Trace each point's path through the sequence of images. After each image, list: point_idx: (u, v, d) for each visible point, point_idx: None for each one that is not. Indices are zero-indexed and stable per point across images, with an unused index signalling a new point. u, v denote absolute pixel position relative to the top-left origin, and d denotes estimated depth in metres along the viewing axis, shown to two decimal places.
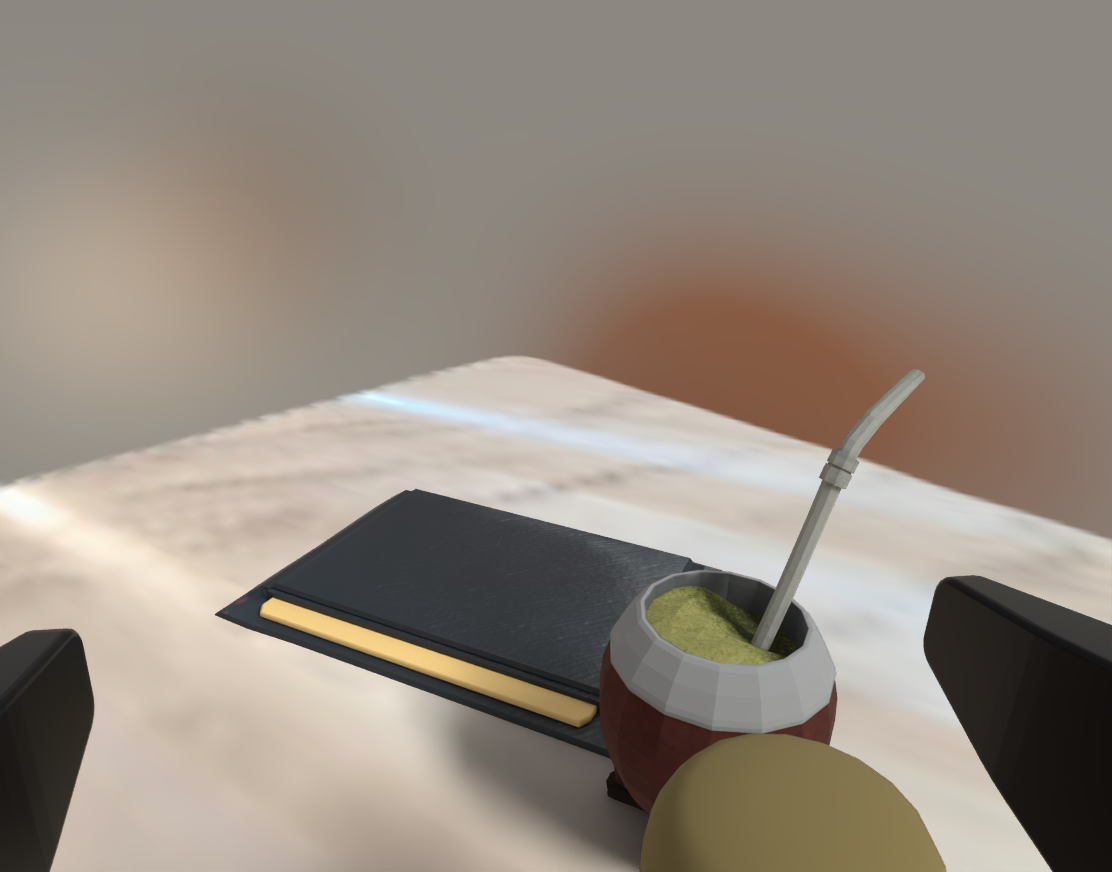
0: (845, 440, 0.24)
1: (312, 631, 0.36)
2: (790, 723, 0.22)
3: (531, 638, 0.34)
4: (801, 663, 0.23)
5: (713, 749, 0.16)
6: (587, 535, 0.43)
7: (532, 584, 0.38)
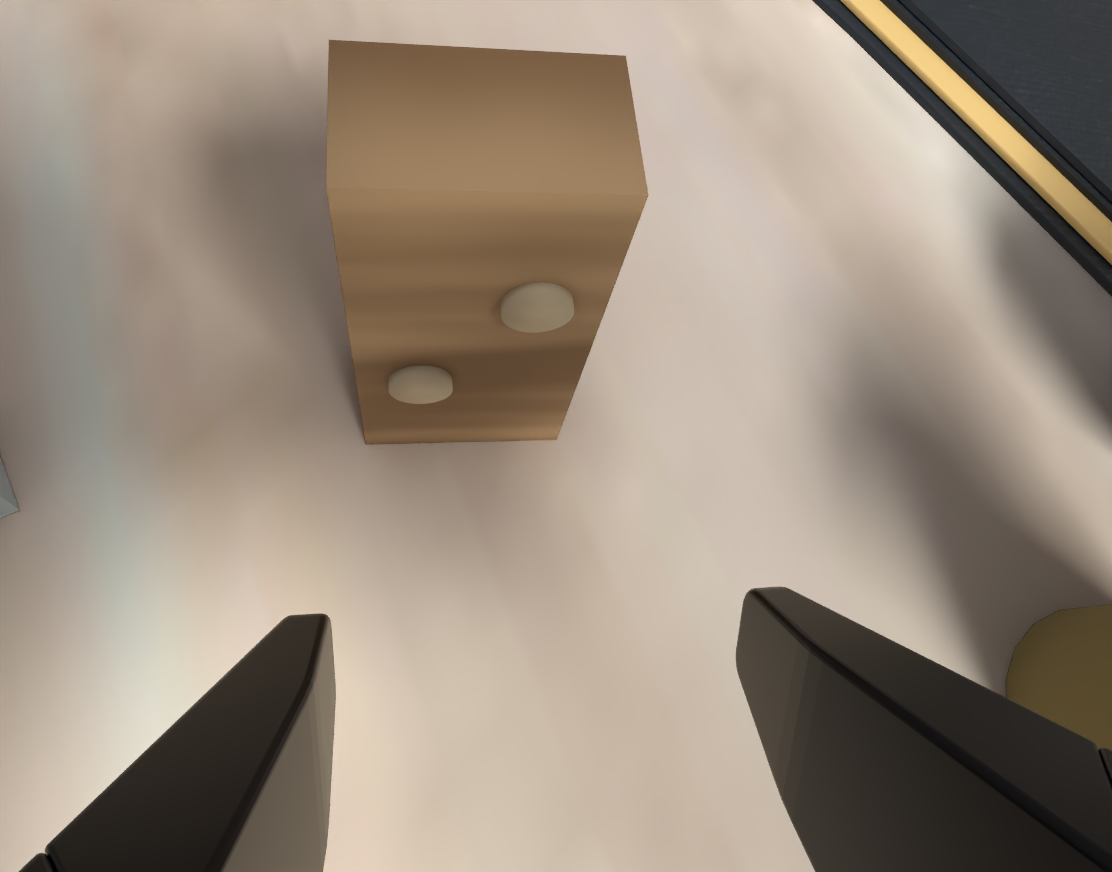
0: None
1: (879, 32, 0.30)
2: None
3: None
4: None
5: None
6: None
7: None
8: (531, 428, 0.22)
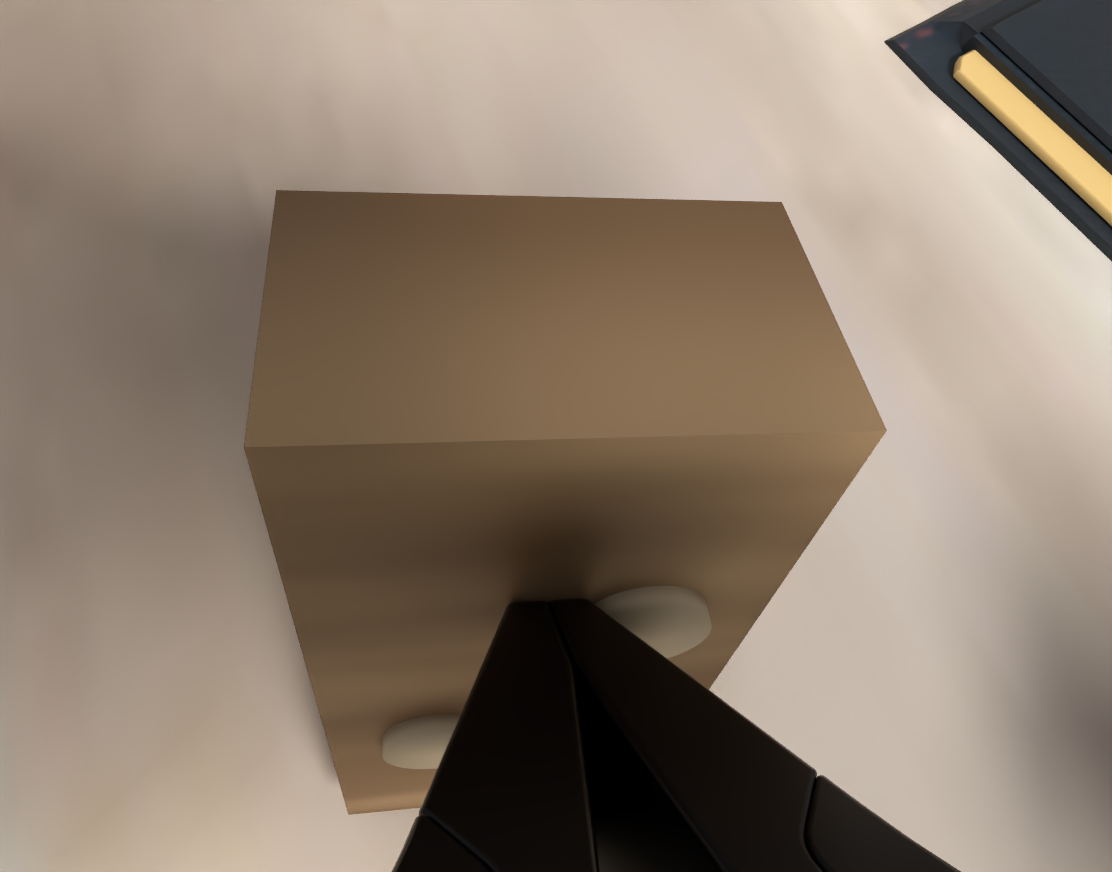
0: None
1: (1029, 140, 0.23)
2: None
3: None
4: None
5: None
6: None
7: None
8: None
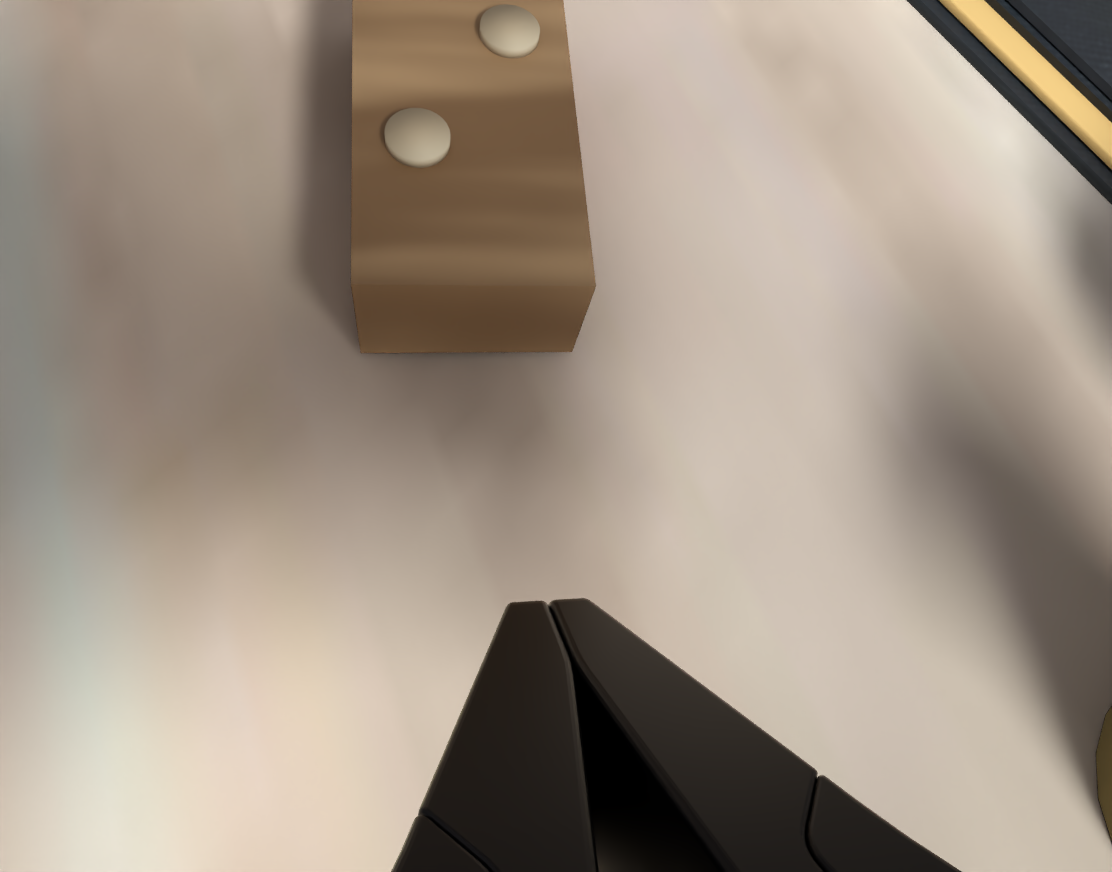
0: None
1: None
2: None
3: None
4: None
5: None
6: None
7: None
8: (555, 252, 0.18)
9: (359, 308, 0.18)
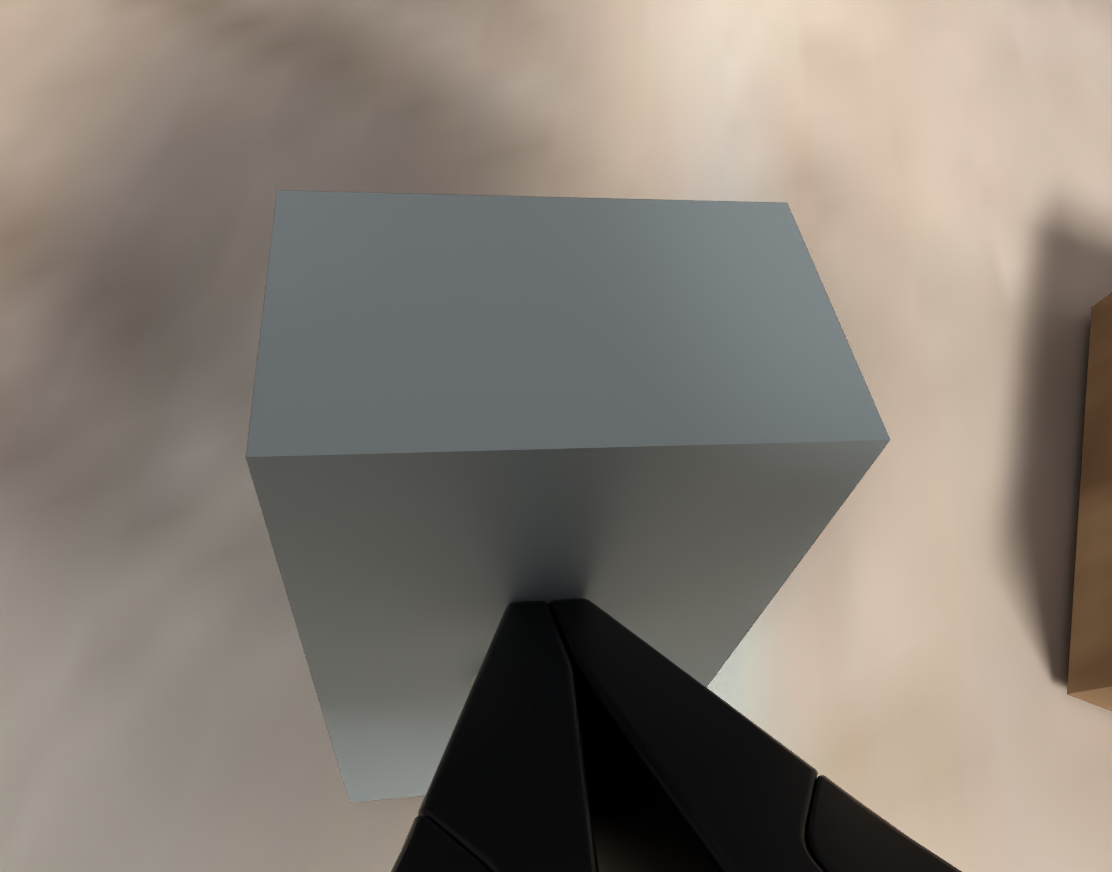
0: None
1: None
2: None
3: None
4: None
5: None
6: None
7: None
8: None
9: None
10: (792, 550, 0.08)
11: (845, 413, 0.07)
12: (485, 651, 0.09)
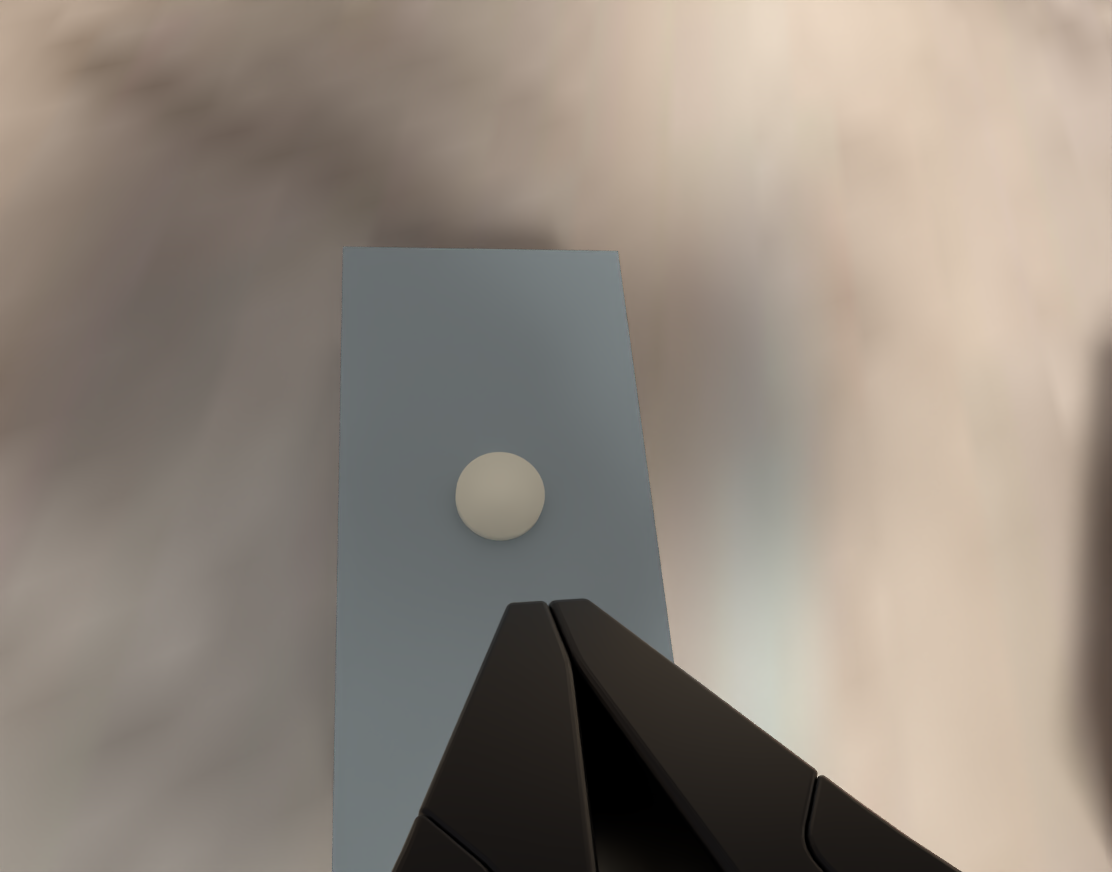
0: None
1: None
2: None
3: None
4: None
5: None
6: None
7: None
8: None
9: None
10: (620, 336, 0.15)
11: None
12: (460, 446, 0.14)
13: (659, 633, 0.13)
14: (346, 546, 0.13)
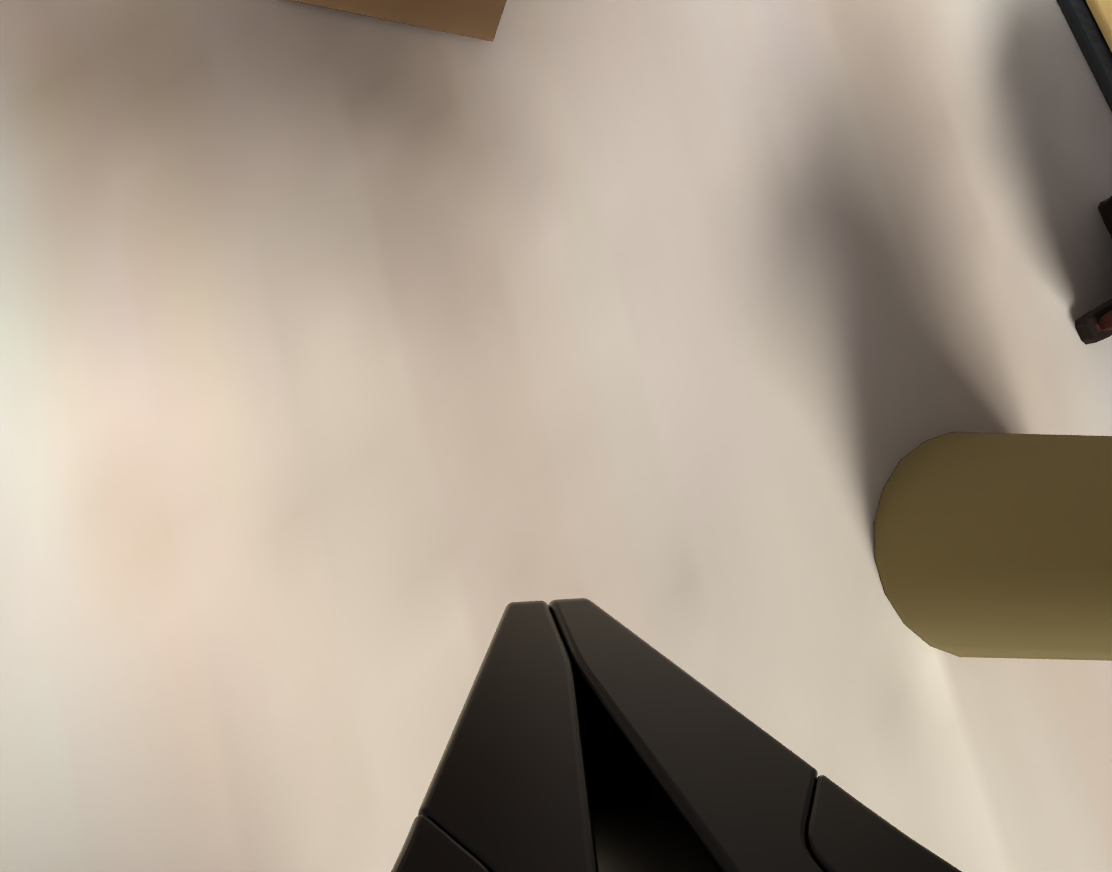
0: None
1: None
2: None
3: None
4: None
5: None
6: None
7: None
8: None
9: None
10: None
11: None
12: None
13: None
14: None
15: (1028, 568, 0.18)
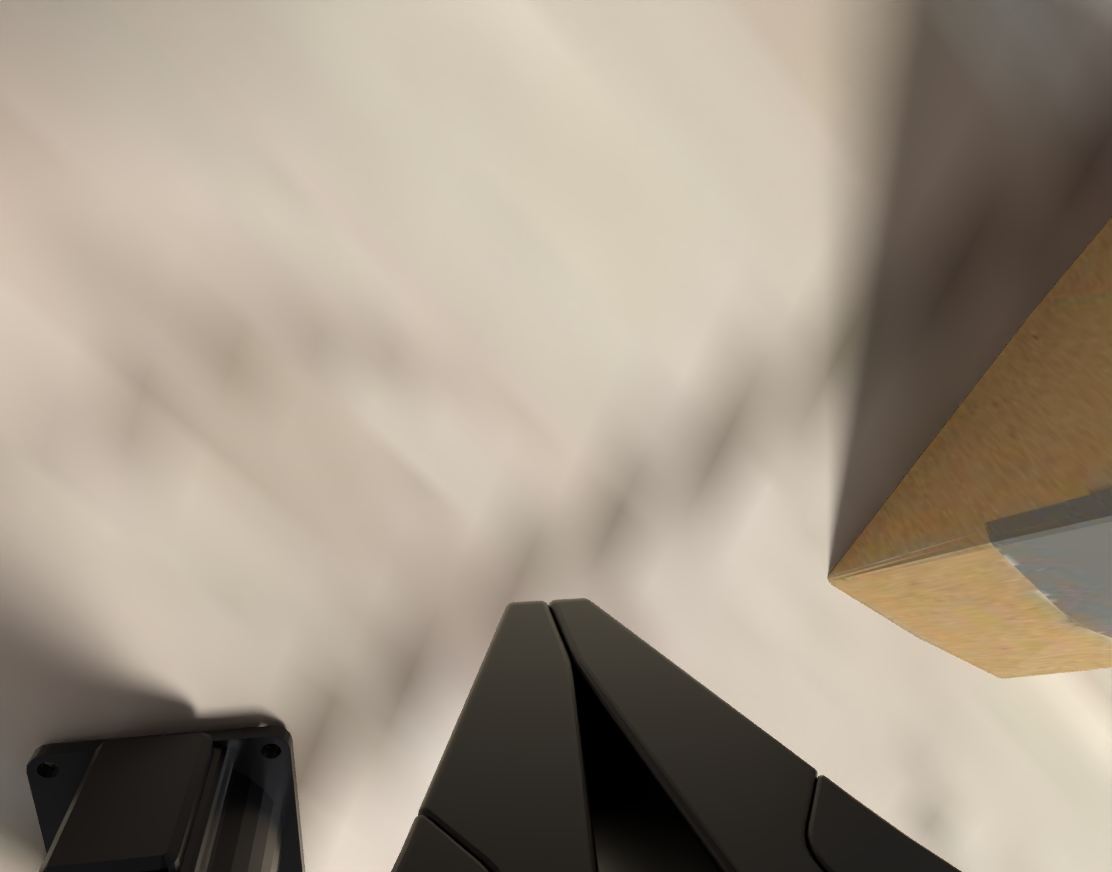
0: None
1: None
2: None
3: None
4: None
5: None
6: None
7: None
8: None
9: None
10: None
11: None
12: None
13: None
14: None
15: None
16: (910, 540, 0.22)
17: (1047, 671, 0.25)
